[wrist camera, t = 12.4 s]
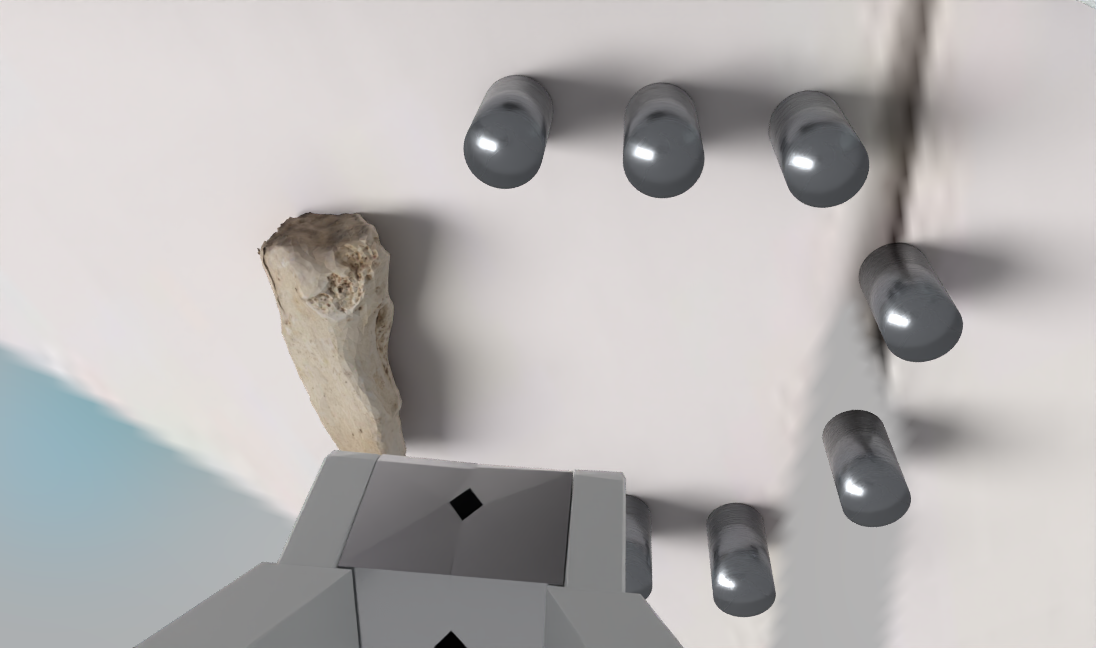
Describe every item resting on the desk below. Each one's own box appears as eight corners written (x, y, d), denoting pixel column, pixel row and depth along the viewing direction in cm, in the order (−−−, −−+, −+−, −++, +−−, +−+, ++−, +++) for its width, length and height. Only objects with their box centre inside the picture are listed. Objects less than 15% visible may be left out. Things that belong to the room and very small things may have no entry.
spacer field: (484, 525, 51) (471, 594, 47) (482, 73, 38) (463, 109, 34) (852, 555, 50) (872, 628, 45) (975, 99, 37) (1019, 140, 33)
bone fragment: (262, 209, 42) (225, 254, 38) (398, 205, 42) (375, 250, 38) (318, 443, 49) (291, 502, 45) (435, 442, 49) (419, 501, 45)
